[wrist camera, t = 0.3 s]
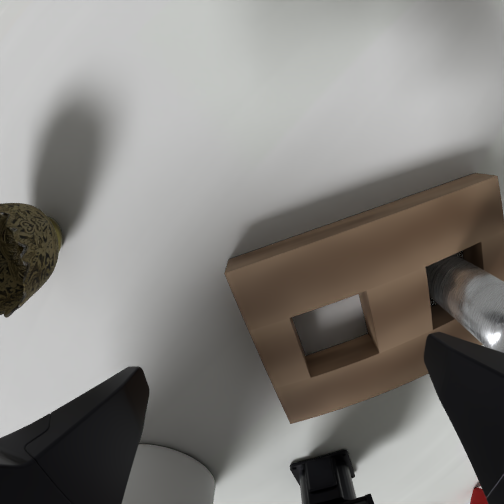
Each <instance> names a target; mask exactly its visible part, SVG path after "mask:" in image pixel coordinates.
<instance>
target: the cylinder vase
mask: <svg viewBox="0 0 504 504" xmlns="http://www.w3.org/2000/svg"><path fill="white" fill-rule="evenodd" d="M214 492H215V480H214V478H213V476H212V474H211V473H210V471H209V470H208V469H207V468H206V467H205V466H204V465H202V464H201V463H200V462H198V461H197V460H195V459H194V458H192V457H190V456H188V455H186V454H184V453H181V452H179V451H176V450H173V449H170V448H166V447H162V446H158V445H151V444H139V445H138V448H137V451H136V455H135V458H134V462H133V465H132V469H131V472H130V475H129V479H128V483H127V486H126V490H125V493H124V497H123V501H122V504H213V500H214Z"/></svg>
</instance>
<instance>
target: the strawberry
mask: <svg viewBox="0 0 504 504" xmlns="http://www.w3.org/2000/svg"><path fill="white" fill-rule="evenodd" d="M470 504H488V502H487V500H486V497H485V494H484V492H483V489H481V488H474V490H473V493H472V497H471V502H470Z"/></svg>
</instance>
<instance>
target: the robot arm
mask: <svg viewBox="0 0 504 504" xmlns="http://www.w3.org/2000/svg"><path fill="white" fill-rule="evenodd" d="M424 363H425V365H426V368H427V370H428V373H429V375H430V378H431V380H432V382H433V385H434V388H435V390H436V393H437V395H438V397H439V399H440V401H441V403H442V405H443V407H444V409H445V411H446V413H447V415H448V417H449V419H450V421H451V423H452V425H453V427H454V429H455V431H456V433H457V435H458V437H459V439H460V441H461V443H462V445H463V447H464V449H465V451H466V453H467V455H468V458H469V460H470V462H471V464H472V466H473V469H474V471H475V473H476V475H477V478H478V480H479V482H480V485H481V487H482V489H483V492H484V494H485V497H486V500H487V502H488V504H504V353H503V352H500V351H497V350H493V349H490V348H487V347H484V346H481V345H478V344H475V343H472V342H469V341H466V340H463V339H460V338H457V337H454V336H451V335H448V334H445V333H442V332H435V333H431V334H429V335H428V336H427V338H426V344H425V350H424ZM148 398H149V386H148V383H147V381H146V378H145V375H144V372H143V370H142V368H140V367H127V368H126V369H124V370H122V371H121V372H119V373H117V374H116V375H114V376H112V377H111V378H109V379H107V380H106V381H104V382H102V383H101V384H99V385H97V386H96V387H94V388H92V389H91V390H89V391H87V392H86V393H84V394H82V395H81V396H79V397H77V398H75V399H74V400H72V401H70V402H69V403H67V404H65V405H64V406H62V407H60V408H58V409H57V410H55V411H53V412H51V414H48V415H46V416H44V417H43V418H41V419H39V420H37V421H35V422H33V423H32V424H30V425H28V426H26V427H23V428H21V429H19V430H17V431H15V432H13V433H11V434H8V435H6V436H4V437H2V438H0V504H122V501H123V497H124V493H125V490H126V486H127V483H128V479H129V475H130V472H131V469H132V465H133V462H134V458H135V455H136V451H137V448H138V445H139V441H140V438H141V435H142V431H143V426H144V420H145V414H146V409H147V403H148ZM290 470H291V472H292V473H293V475H294V477H295V478H296V480H297V482H298V483H299V485H300V488H301V498H302V504H374V502H373V499H372V496H371V494H367V495H365V496H363V497H359V498H356V494H355V490H354V486H353V482H352V478H354V477H355V474H354V471H353V467H352V464H351V461H350V457H349V454H348V451H347V450H341V451H338V452H334V453H331V454H328V455H324V456H321V457H317V458H313V459H310V460H306V461H302V462H298V463H293V464H291V465H290Z"/></svg>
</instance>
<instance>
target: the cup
mask: <svg viewBox="0 0 504 504" xmlns="http://www.w3.org/2000/svg"><path fill="white" fill-rule="evenodd" d="M62 241H63V237H62V231H61V229H60V226H59V225H58V223H57V222H56V221H55V220H54V219H53V218H51V217H49V216H46V215H45V214H44V213H43V212H42V211H41V210H40V209H38V208H36V207H34V206H32V205H28V204H22V203H5V204H0V315H2V314H4V316H5V317H9V316H10V315H11V314H12V313H13V312H14V311H15V310H17V309H18V308H20V307H21V306H22V305H23V304H24V303H25V302H26V301H27V300H28V299H29V298H30V297H31V296H32V295H33V294H34V293H35V292H37V291H38V290H39V289H40V288H41V287H42V286H43V285H44V283H45V282H46V281H47V280H48V279H49V277H50V276H51V274H52V273H53V271H54V268H55V266H56V263H57V259H58V253H59V251H60V249H61V246H62Z"/></svg>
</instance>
